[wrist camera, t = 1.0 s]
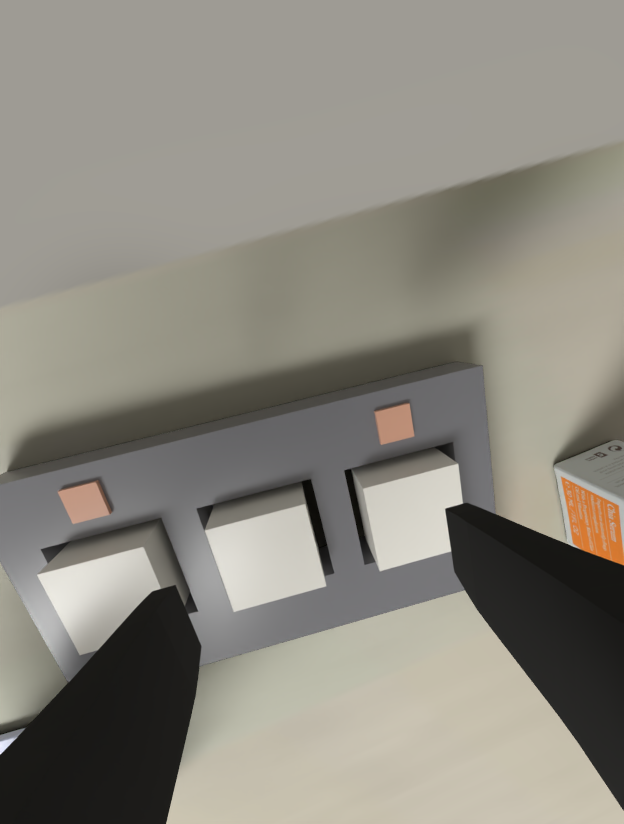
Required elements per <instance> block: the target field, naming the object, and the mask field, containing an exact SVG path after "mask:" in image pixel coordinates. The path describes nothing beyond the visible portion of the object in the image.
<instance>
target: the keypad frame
mask: <svg viewBox="0 0 624 824" xmlns="http://www.w3.org/2000/svg"><path fill="white" fill-rule="evenodd" d="M431 447H435V448H436V449H438V450H439V451H441V452H442V453H444V454H445V455H447V456H448V457H449V458H451V459H452V460H454V461H455V462H457V463H458V465H459V474H460V483H461V491H462V500H463V503H469V504H472V505H475V506H477V507H480V508H482V509H485V510H487V511H489V512H492V513H494V514H496V513H495V502H494V491H493V479H492V468H491V456H490V445H489V434H488V422H487V411H486V400H485V388H484V377H483V366H482V365H476V364H469V363H461V362H453V363H449V364H445V365H441V366H437V367H432V368H428V369H424V370H420V371H416V372H412V373H408V374H404V375H400V376H396V377H392V378H388V379H384V380H379V381H375V382H371V383H367V384H363V385H359V386H355V387H351V388H347V389H343V390H339V391H335V392H331V393H326V394H322V395H318V396H314V397H310V398H306V399H302V400H298V401H294V402H290V403H286V404H282V405H278V406H274V407H269V408H265V409H261V410H257V411H253V412H249V413H245V414H241V415H237V416H233V417H229V418H225V419H221V420H216V421H212V422H208V423H204V424H200V425H196V426H192V427H188V428H184V429H180V430H176V431H172V432H168V433H163V434H159V435H155V436H151V437H147V438H143V439H139V440H135V441H131V442H127V443H123V444H119V445H115V446H110V447H106V448H102V449H98V450H94V451H90V452H86V453H82V454H78V455H74V456H70V457H66V458H62V459H57V460H53V461H49V462H45V463H41V464H37V465H33V466H29V467H25V468H21V469H17V470H13V471H9V472H5V473H3V474H1V475H0V563H1V565H2V566H3V568H4V570H5V572H6V573H7V575H8V577H9V579H10V581H11V582H12V584H13V586H14V588H15V589H16V591H17V593H18V595H19V597H20V598H21V600H22V602H23V604H24V605H25V607H26V609H27V611H28V613H29V614H30V616H31V618H32V620H33V621H34V623H35V625H36V627H37V629H38V630H39V632H40V634H41V636H42V637H43V639H44V641H45V643H46V645H47V646H48V648H49V650H50V652H51V653H52V655H53V657H54V659H55V660H56V662H57V664H58V666H59V668H60V669H61V671H62V673H63V675H64V676H65V678H66V680H67V682H68V683H69V682H70V681H71V679H72V678H73V677H74V676H75V675H76V674H77V673H78V672H79V671H80V669H81V668H82V667H83V666H84V665H85V664H86V663H87V662H88V661H89V659H90V658H91V657H92V656H93V655H94V654H95V653H96V652H97V651H98V650H97V651H93V652H90V653H86V654H82V655H79V653H78V651H77V649H76V647H75V645H74V643H73V642H72V640H71V638H70V636H69V634H68V632H67V630H66V628H65V627H64V625H63V623H62V621H61V619H60V617H59V615H58V613H57V612H56V610H55V608H54V606H53V604H52V602H51V600H50V599H49V597H48V595H47V593H46V591H45V589H44V587H43V585H42V584H41V582H40V580H39V578H38V576H37V574H38V573H39V572H40V571H41V570H42V569H43V568H44V567H45V566H46V565H47V564H48V563H49V562H50V561H51V560H52V559H53V558H54V557H55V556H56V555H57V554H58V553H59V552H60V551H61V550H62V549H63V548H64V547H65V546H66V545H67V544H68V543H69V542H70V541H73V540H77V539H81V538H85V537H89V536H93V535H96V534H100V533H104V532H108V531H112V530H116V529H119V528H123V527H127V526H131V525H135V524H139V523H143V522H146V521H150V520H154V519H158V518H162V521H163V523H164V526H165V528H166V531H167V533H168V536H169V539H170V541H171V544H172V546H173V549H174V551H175V554H176V556H177V559H178V561H179V564H180V567H181V569H182V572H183V574H184V577H185V579H186V582H187V584H188V587H189V589H190V593H189V596H188V599H187V601H186V604H185V608H186V611H187V613H188V615H189V618H190V620H191V622H192V625H193V627H194V629H195V632H196V634H197V636H198V639H199V641H200V644H201V646H202V647H201V656H200V665H199V666H203V665H206V664H210V663H213V662H216V661H220V660H223V659H227V658H230V657H234V656H237V655H241V654H244V653H248V652H251V651H255V650H258V649H262V648H265V647H269V646H272V645H276V644H279V643H283V642H286V641H290V640H293V639H297V638H300V637H303V636H307V635H310V634H314V633H317V632H321V631H324V630H328V629H331V628H335V627H338V626H342V625H345V624H349V623H352V622H356V621H359V620H363V619H366V618H370V617H373V616H377V615H380V614H383V613H387V612H390V611H394V610H397V609H401V608H404V607H408V606H411V605H415V604H418V603H422V602H425V601H429V600H432V599H436V598H439V597H443V596H446V595H450V594H453V593H457V592H460V591H464V590H465V589H464V587H463V586H462V584H461V582H460V581H459V579H458V577H457V576H456V574H455V572H454V567H453V560H452V553H451V552H447V553H444V554H440V555H436V556H433V557H429V558H426V559H422V560H419V561H415V562H411V563H408V564H404V565H401V566H397V567H394V568H390V569H386V570H383V571H380V570H379V568H378V566H377V564H376V561H375V559H374V557H373V555H372V552H371V550H370V548H369V546H368V543H367V541H366V538H365V536H362V537H358V532H357V528H356V523H355V518H354V514H353V509H352V504H351V500H350V495H349V491H348V486H347V481H346V477H345V472H344V470H347V469H350V468H354V467H358V466H362V465H366V464H370V463H374V462H377V461H381V460H385V459H389V458H393V457H397V456H400V455H404V454H408V453H412V452H416V451H420V450H424V449H427V448H431ZM308 479H311V481H312V485H313V489H314V493H315V497H316V501H317V505H318V509H319V513H320V517H321V521H322V525H323V530H324V534H325V538H326V542H327V546H325V547H322V548H319V552H320V557H321V562H322V567H323V571H324V576H325V581H326V587H322V588H318V589H315V590H311V591H308V592H304V593H301V594H297V595H293V596H290V597H286V598H283V599H279V600H276V601H272V602H268V603H265V604H261V605H258V606H254V607H250V608H247V609H243V610H240V611H236V612H234V611H233V609H232V606H231V603H230V600H229V597H228V595H227V592H226V589H225V586H224V583H223V581H222V578H221V575H220V572H219V569H218V567H217V564H216V561H215V558H214V555H213V553H212V550H211V547H210V544H209V541H208V539H207V536H206V533H205V528H206V525H207V523H208V520H209V517H210V515H211V512H212V509H213V504H216V503H220V502H223V501H227V500H231V499H235V498H239V497H243V496H247V495H250V494H254V493H258V492H262V491H266V490H270V489H273V488H277V487H281V486H285V485H289V484H293V483H297V482H300V481H304V480H308Z"/></svg>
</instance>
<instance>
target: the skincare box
mask: <svg viewBox="0 0 624 824" xmlns="http://www.w3.org/2000/svg"><path fill="white" fill-rule="evenodd" d="M554 471H555V474H556V478H557V484H558V490H559V495H560V500H561V505H562V511H563V517H564V524H565V529H566V537H567V542H568V543H569V544H570V545H571V546H573V547H576V548H578V549H581V550H584V551H586V552H589V553H592V554H594V555H597V556H600V557H602V558H605V559H608V560H611V561H613V562H616V563H619V564H622V565H624V442H623V441H620V440H613V441H610V442H608V443H605V444H603V445H600V446H598V447H596V448H593V449H591V450H589V451H586V452H584V453H581V454H579V455H577V456H574V457H572V458H569V459H567V460H564V461H561V462H559V463H557V464H555V465H554Z"/></svg>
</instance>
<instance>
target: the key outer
mask: <svg viewBox="0 0 624 824" xmlns="http://www.w3.org/2000/svg"><path fill="white" fill-rule="evenodd" d="M351 472H352V476H353V481H354V486H355V491H356V495H357V500H358V505H359V510H360V514H361V519H362V524H363V529H364V533H365V538H366V541H367V543H368V546H369V548H370V550H371V552H372V555H373V557H374V559H375V561H376V564H377V566H378V568H379V570H380V571H383V570H386V569H390V568H394V567H397V566H401V565H404V564H408V563H411V562H415V561H419V560H422V559H426V558H429V557H433V556H436V555H440V554H444V553H447V552H451V546H450V540H449V533H448V526H447V519H446V513H445V509H446V508H449V507H453V506H456V505H460V504H463V500H462V491H461V483H460V474H459V465H458V463H457V462H455V461H454V460H452V459H451V458H449V457H448V456H447V455H445V454H444V453H442V452H441V451H439V450H438V449H436V448H435V447H431V448H427V449H424V450H420V451H416V452H412V453H408V454H404V455H400V456H397V457H393V458H389V459H385V460H381V461H377V462H374V463H370V464H366V465H362V466H358V467H354V468H351Z"/></svg>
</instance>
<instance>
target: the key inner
mask: <svg viewBox="0 0 624 824" xmlns="http://www.w3.org/2000/svg"><path fill="white" fill-rule="evenodd" d="M37 576H38V578H39V580H40V582H41V584H42V585H43V587H44V589H45V591H46V593H47V595H48V597H49V599H50V600H51V602H52V604H53V606H54V608H55V610H56V612H57V613H58V615H59V617H60V619H61V621H62V623H63V625H64V627H65V628H66V630H67V632H68V634H69V636H70V638H71V640H72V642H73V643H74V645H75V647H76V649H77V651H78V653H79V655H82V654H86V653H90V652H93V651H97V650H98V649H99V648H100V647H101V646H102V645H103V644H104V643H105V642H106V641H107V639H108V638H109V637H110V636H111V635H112V634H113V633H114V632H115V630H116V629H117V628H118V627H119V626H120V625H121V624H122V623H123V622H124V620H125V619H126V618H127V617H128V616H129V615H130V614H131V613H132V612H133V610H134V609H135V608H136V607H137V606H138V605H139V604H140V603H141V602H142V601H143V600H144V599H145V598H146V597H147V596H148V595H149V594H150V593H151V592H152V591H155V590H159V589H162V588H166V587H169V586H173V585H176V587H177V589H178V592H179V594H180V596H181V599H182V601H183V603H184V606H185V604H186V601H187V599H188V596H189V593H190V589H189V587H188V584H187V582H186V579H185V577H184V574H183V572H182V569H181V567H180V564H179V561H178V559H177V556H176V554H175V551H174V549H173V546H172V544H171V541H170V539H169V536H168V533H167V531H166V528H165V526H164V523H163V521H162V518H158V519H154V520H150V521H146V522H143V523H139V524H135V525H131V526H127V527H123V528H119V529H116V530H112V531H108V532H104V533H100V534H96V535H93V536H89V537H85V538H81V539H77V540H73V541H70V542H69V543H68V544H67V545H66V546H65V547H64V548H63V549H62V550H61V551H60V552H59V553H58V554H57V555H56V556H55V557H54V558H53V559H52V560H51V561H50V562H49V563H48V564H47V565H46V566H45V567H44V568H43V569H42V570H41V571H40V572H39V573H38V574H37Z"/></svg>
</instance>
